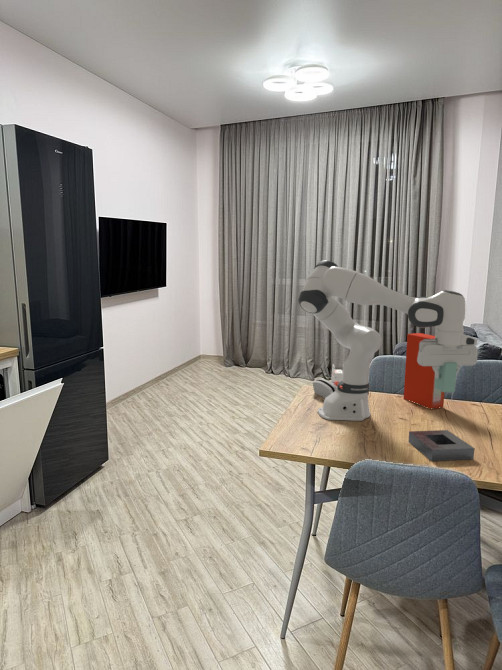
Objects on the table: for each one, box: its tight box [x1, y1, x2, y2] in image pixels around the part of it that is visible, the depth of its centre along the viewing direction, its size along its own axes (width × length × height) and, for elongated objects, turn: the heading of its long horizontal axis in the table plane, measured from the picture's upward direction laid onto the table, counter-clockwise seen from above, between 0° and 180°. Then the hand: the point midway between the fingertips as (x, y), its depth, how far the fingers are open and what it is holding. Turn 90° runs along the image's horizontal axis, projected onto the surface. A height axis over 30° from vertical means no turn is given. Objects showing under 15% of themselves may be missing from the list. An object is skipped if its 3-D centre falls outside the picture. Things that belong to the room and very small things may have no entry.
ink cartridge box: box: [330, 363, 343, 389], centre depth 232 cm, size 9×5×15 cm, turn 178°
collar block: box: [408, 429, 475, 462], centre depth 165 cm, size 15×17×4 cm
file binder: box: [403, 332, 445, 410], centre depth 218 cm, size 8×17×32 cm, turn 24°
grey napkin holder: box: [312, 378, 337, 399], centre depth 226 cm, size 17×5×10 cm, turn 26°
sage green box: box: [435, 363, 457, 393], centre depth 161 cm, size 4×6×10 cm, turn 7°
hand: (445, 378), depth 161 cm, fingers closed on sage green box, 4 cm apart
